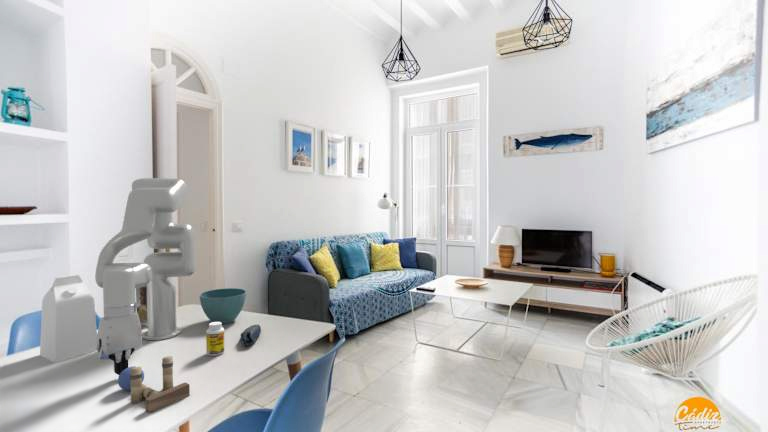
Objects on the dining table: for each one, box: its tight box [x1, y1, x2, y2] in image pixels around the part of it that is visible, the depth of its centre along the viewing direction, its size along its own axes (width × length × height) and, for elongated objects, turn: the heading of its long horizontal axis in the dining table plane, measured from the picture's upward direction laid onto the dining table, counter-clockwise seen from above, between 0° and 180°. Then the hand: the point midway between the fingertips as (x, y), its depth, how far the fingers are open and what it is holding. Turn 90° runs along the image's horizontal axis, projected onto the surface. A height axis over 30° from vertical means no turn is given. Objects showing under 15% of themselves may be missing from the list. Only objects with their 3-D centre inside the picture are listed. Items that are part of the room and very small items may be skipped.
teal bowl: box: [199, 287, 247, 325], centre depth 164 cm, size 18×18×12 cm
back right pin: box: [130, 366, 143, 405], centre depth 98 cm, size 3×3×8 cm
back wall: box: [144, 382, 191, 414], centre depth 98 cm, size 2×10×3 cm, turn 148°
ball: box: [117, 366, 145, 391], centre depth 105 cm, size 6×6×6 cm
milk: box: [39, 274, 98, 363], centre depth 130 cm, size 12×12×26 cm
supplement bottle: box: [205, 321, 225, 357], centre depth 130 cm, size 6×6×10 cm
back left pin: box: [161, 356, 174, 391], centre depth 105 cm, size 3×3×8 cm
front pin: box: [142, 383, 160, 399], centre depth 100 cm, size 3×3×8 cm
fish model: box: [240, 324, 262, 347], centre depth 144 cm, size 7×21×5 cm, turn 10°
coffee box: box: [135, 285, 148, 326], centre depth 161 cm, size 9×6×16 cm
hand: (121, 373), depth 111 cm, fingers closed
